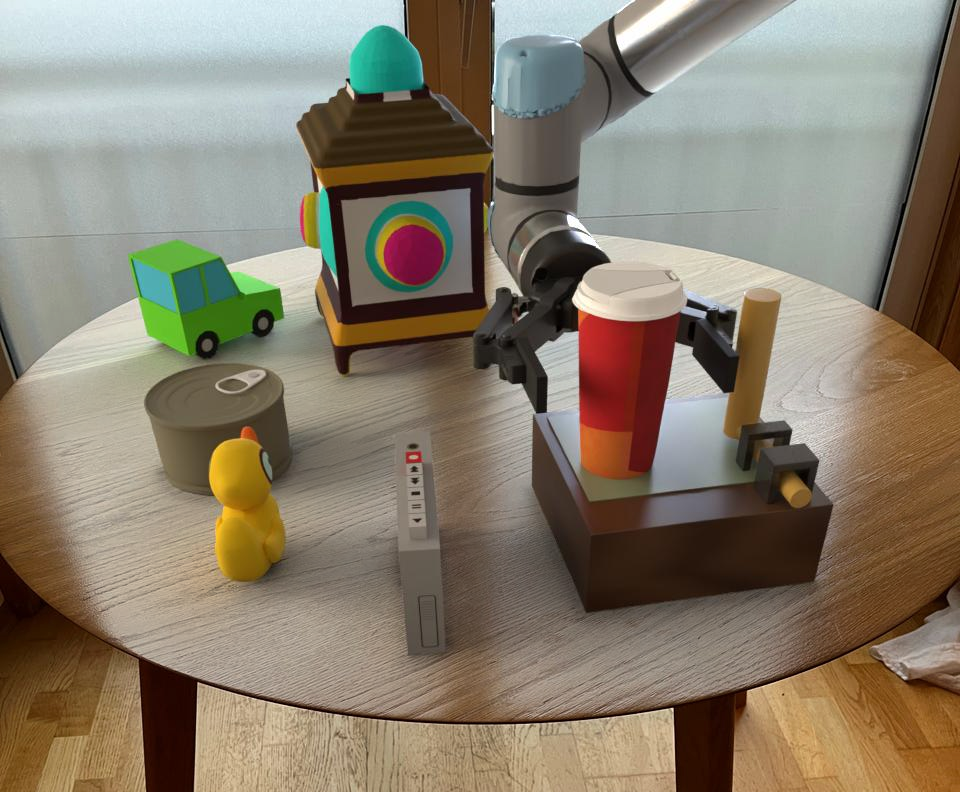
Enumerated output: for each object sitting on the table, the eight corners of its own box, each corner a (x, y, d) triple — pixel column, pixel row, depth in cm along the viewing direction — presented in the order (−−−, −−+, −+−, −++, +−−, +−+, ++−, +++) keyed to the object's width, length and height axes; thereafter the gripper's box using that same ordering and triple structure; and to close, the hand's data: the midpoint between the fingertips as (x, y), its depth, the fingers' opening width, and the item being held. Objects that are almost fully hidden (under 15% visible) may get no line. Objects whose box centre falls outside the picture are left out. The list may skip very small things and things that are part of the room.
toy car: (295, 330, 113) (282, 240, 106) (197, 369, 106) (176, 275, 99) (241, 306, 118) (226, 220, 112) (145, 342, 111) (122, 252, 105)
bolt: (748, 423, 79) (772, 286, 72) (816, 506, 70) (851, 358, 63) (717, 427, 79) (738, 289, 72) (781, 510, 70) (812, 362, 63)
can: (134, 467, 90) (115, 398, 86) (237, 417, 97) (224, 350, 93) (218, 512, 85) (202, 440, 80) (321, 455, 91) (311, 386, 87)
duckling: (233, 520, 84) (210, 412, 77) (297, 518, 84) (279, 411, 77) (208, 604, 75) (179, 491, 68) (279, 602, 75) (257, 489, 68)
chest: (726, 462, 89) (744, 355, 82) (814, 581, 76) (843, 465, 69) (531, 486, 87) (533, 377, 80) (586, 613, 73) (593, 495, 67)
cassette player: (402, 530, 82) (393, 421, 75) (435, 527, 82) (429, 419, 76) (407, 654, 70) (397, 538, 64) (446, 652, 70) (439, 536, 64)
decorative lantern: (514, 363, 105) (515, 37, 86) (328, 387, 102) (285, 53, 82) (469, 293, 120) (462, 1, 100) (306, 312, 117) (265, 13, 97)
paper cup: (650, 431, 79) (668, 254, 70) (681, 481, 74) (705, 295, 64) (554, 441, 78) (560, 263, 69) (578, 492, 73) (588, 305, 64)
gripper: (696, 303, 88) (797, 414, 72) (419, 330, 85) (461, 453, 69) (707, 216, 83) (818, 315, 68) (413, 241, 80) (458, 351, 64)
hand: (638, 385), depth 68 cm, fingers open, 13 cm apart
